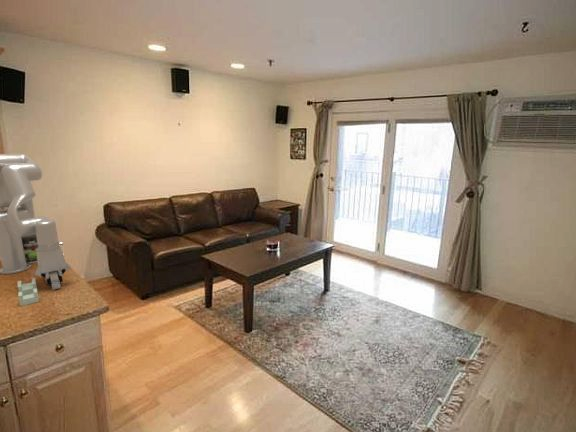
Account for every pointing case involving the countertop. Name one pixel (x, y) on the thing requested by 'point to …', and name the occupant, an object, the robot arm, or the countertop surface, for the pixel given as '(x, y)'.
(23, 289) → the cradle
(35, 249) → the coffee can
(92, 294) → the countertop surface
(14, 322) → the countertop surface
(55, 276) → the axle
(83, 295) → the countertop surface
